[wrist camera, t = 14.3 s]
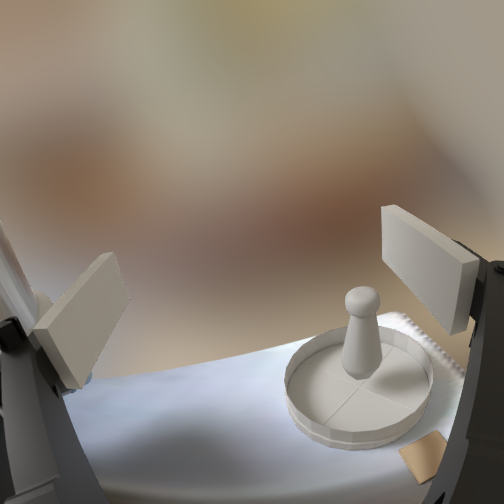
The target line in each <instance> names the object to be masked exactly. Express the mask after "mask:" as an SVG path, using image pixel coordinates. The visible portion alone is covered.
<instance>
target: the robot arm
mask: <svg viewBox="0 0 504 504" xmlns="http://www.w3.org/2000/svg"><path fill="white" fill-rule="evenodd" d="M381 213H382V259H383V261H384V262H385V263H386V264H387V265H388V266H389V267H390V268H391V269H392V270H393V271H394V272H395V273H396V274H397V276H398V277H399V278H400V279H401V280H402V281H403V282H404V283H405V284H406V285H407V287H409V289H410V290H411V291H412V292H413V293H414V294H415V295H416V297H418V299H419V300H420V301H421V302H422V303H423V304H424V306H425V307H426V308H427V309H428V310H429V312H430V313H431V314H432V315H433V316H434V317H435V319H436V320H437V321H438V322H439V323H440V324H441V326H442V327H443V328H444V329H445V331H446V332H447V333H448V334H449V335H450V336H451V335H454V334H456V333H460V332H462V331H465V330H466V329H467V324H468V321H469V316H471V317H472V318H473V319H474V320H475V321H476V322H475V326H474V330H473V334H472V338H471V341H470V344H469V347H471V349H470V355H469V361H468V366H467V371H466V376H465V381H464V385H463V389H462V394H461V398H460V402H459V406H458V409H457V413H456V417H455V420H454V423H453V427H452V430H451V433H450V436H449V439H448V442H447V445H446V448H445V451H444V454H443V457H442V460H441V462H440V465H439V467H438V470H437V473H436V475H435V478H434V480H433V482H432V485H431V487H430V489H429V491H428V494H427V496H426V497H425V499H424V501H423V503H422V504H504V261H492V262H490V263H489V262H488V261H487V260H485V259H484V258H482V257H481V256H479V255H478V254H476V253H475V252H473V251H472V250H471V249H469V248H467V247H466V246H465V245H463V244H462V243H460V242H458V241H455V240H452V239H450V238H448V237H447V236H445V235H443V234H442V233H440V232H439V231H437V230H436V229H434V228H433V227H431V226H429V225H428V224H426V223H424V222H423V221H421V220H420V219H418V218H416V217H415V216H413V215H411V214H410V213H408V212H407V211H405V210H403V209H401V208H400V207H398V206H396V205H390V206H383V207H381ZM130 300H131V299H130V297H129V294H128V291H127V289H126V286H125V283H124V280H123V277H122V275H121V272H120V269H119V266H118V263H117V260H116V257H115V254H114V252H110V253H105V254H101V255H100V256H99V257H98V258H97V259H96V260H95V261H94V262H93V263H92V264H91V265H90V266H89V267H88V268H87V269H86V270H85V271H84V272H83V273H82V274H81V275H80V276H79V277H78V278H77V280H76V281H75V282H74V283H73V284H72V285H71V286H70V287H69V288H68V289H67V290H66V291H65V292H64V294H63V295H62V296H61V297H60V298H59V299H58V300H57V301H56V302H55V303H54V305H53V303H52V301H51V300H50V299H49V297H48V296H46V295H45V294H44V293H42V292H40V291H37V290H32V288H31V286H30V284H29V282H28V280H27V278H26V276H25V274H24V272H23V270H22V268H21V266H20V264H19V262H18V259H17V257H16V255H15V253H14V251H13V248H12V246H11V243H10V241H9V239H8V236H7V234H6V232H5V229H4V226H3V224H2V221H1V219H0V504H110V503H109V501H108V500H107V498H106V496H105V494H104V492H103V490H102V488H101V487H100V485H99V483H98V481H97V479H96V477H95V475H94V473H93V471H92V469H91V467H90V465H89V462H88V460H87V458H86V456H85V454H84V451H83V449H82V447H81V445H80V442H79V440H78V437H77V435H76V433H75V430H74V428H73V425H72V422H71V420H70V417H69V414H68V412H67V409H66V406H65V403H64V400H63V397H62V396H65V395H67V394H69V393H74V392H75V391H76V390H77V389H82V388H83V386H85V385H86V384H88V383H89V382H90V380H91V378H92V372H91V370H92V368H93V367H94V365H95V363H96V361H97V359H98V357H99V355H100V353H101V351H102V350H103V348H104V346H105V344H106V342H107V340H108V339H109V337H110V335H111V333H112V331H113V330H114V328H115V326H116V324H117V322H118V321H119V319H120V317H121V315H122V314H123V312H124V310H125V309H126V307H127V305H128V303H129V302H130Z"/></svg>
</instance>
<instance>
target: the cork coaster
mask: <svg viewBox="0 0 504 504" xmlns="http://www.w3.org/2000/svg"><path fill="white" fill-rule="evenodd" d="M446 445H447V443H446V441H445V440H444V439H443V437H442V436H441V435H440V434H439V432H438V431H437V430H435V431H433V432H432V433H430V434H428V435H426V436H425V437H423V438H421V439H419V440H417V441H415V442H414V443H412V444H410V445H408V446H406V447H404V448H402V449H400V450H399V451H398V452H399V454H400V455H401V457H402V458H403V460H404V461H405V463H406V465H407V466H408V468H409V469H410V471H411V472H412V474H413V476H414V477H415V479H416V480H417V482H418V483H419V485H420V484H422V483H424V482H425V481H427V480H429V479H430V478H432V477H434V476H435V475H436V473H437V470H438V467H439V465H440V462H441V460H442V457H443V454H444V451H445V448H446Z"/></svg>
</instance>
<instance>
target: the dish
mask: <svg viewBox="0 0 504 504" xmlns="http://www.w3.org/2000/svg"><path fill="white" fill-rule="evenodd" d="M347 329H348V326H346V327H342V328H338V329H334V330H330V331H328V332H325V333H323V334H321V335H318V336H316V337H314V338H313V339H311V340H310V341H308V342H307V343H305V344H303V345H302V346H301V347H300V349H299V350H298V351H297V352H296V353H295V354H294V355H293V356H292V358H291V360H290V362H289V364H288V365H287V367H286V373H285V379H284V383H285V388H286V389H285V397H286V402H287V407H288V411H289V415H290V417H291V418H292V420H293V421H294V423H295V425H296V426H297V428H298V429H299V430H301V431H302V432H303V433H304V434H305V435H307V436H308V437H309V438H310V439H312V440H314V441H316V442H318V443H321V444H323V445H325V446H328V447H331V448H337V449H343V450H350V451H353V450H365V449H374V448H377V447H380V446H383V445H386V444H388V443H391V442H394V441H395V440H397V439H398V438H400V437H401V436H403V435H404V434H406V433H407V432H409V431H410V430H411V429H412V428H413V427H414V426H415V425H416V423H417V422H418V421H419V420H420V419H421V418H422V416H423V413H424V411H425V408H426V406H427V404H428V401H429V398H430V396H431V387H432V384H433V366H432V363H431V360H430V357H429V355H428V353H427V352H426V351H425V350H424V348H423V347H422V346H421V344H419V343H418V342H417V341H415V340H414V339H413V338H411V337H410V336H408V335H406V334H404V333H401V332H399V331H397V330H395V329H390V328H386V327H381V326H378V329H379V335H380V342H381V349H382V356H383V358H382V361H381V364H380V367H379V368H378V369H377V370H376V371H375V372H374V373H373V375H372V376H371V377H370V378H369V379H362V380H356V379H354V378H353V377H351V376H349V375H348V374H347V373H346V371H345V369H344V368H343V366H342V362H341V355H342V351H343V347H344V342H345V338H346V334H347Z"/></svg>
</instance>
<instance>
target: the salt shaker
mask: <svg viewBox="0 0 504 504" xmlns="http://www.w3.org/2000/svg"><path fill="white" fill-rule="evenodd" d="M345 304H346V309H347V312H349V313H350V314H351V315H350V320H349V325H348V329H347V334H346V338H345V342H344V347H343V351H342V355H341V362H342V366H343V368H344V369H345V371H346V373H347V374H348V375H349V376H351V377H353V378H354V379H356V380H362V379H369V378H370V377H371V376H372V375H373V373H374V372H375V371H376V370H377V369H378V368H379V367H380V364H381V361H382V358H383V356H382V349H381V342H380V335H379V329H378V323H377V317H376V312H377V311H378V309H379V306H380V296H379V294H378V292H377V291H376V290H375V289H373V288H371V287H367V286H361V287H356V288H354V289H352V290H350V291H349V292H348V293H347V295H346V299H345Z"/></svg>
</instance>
